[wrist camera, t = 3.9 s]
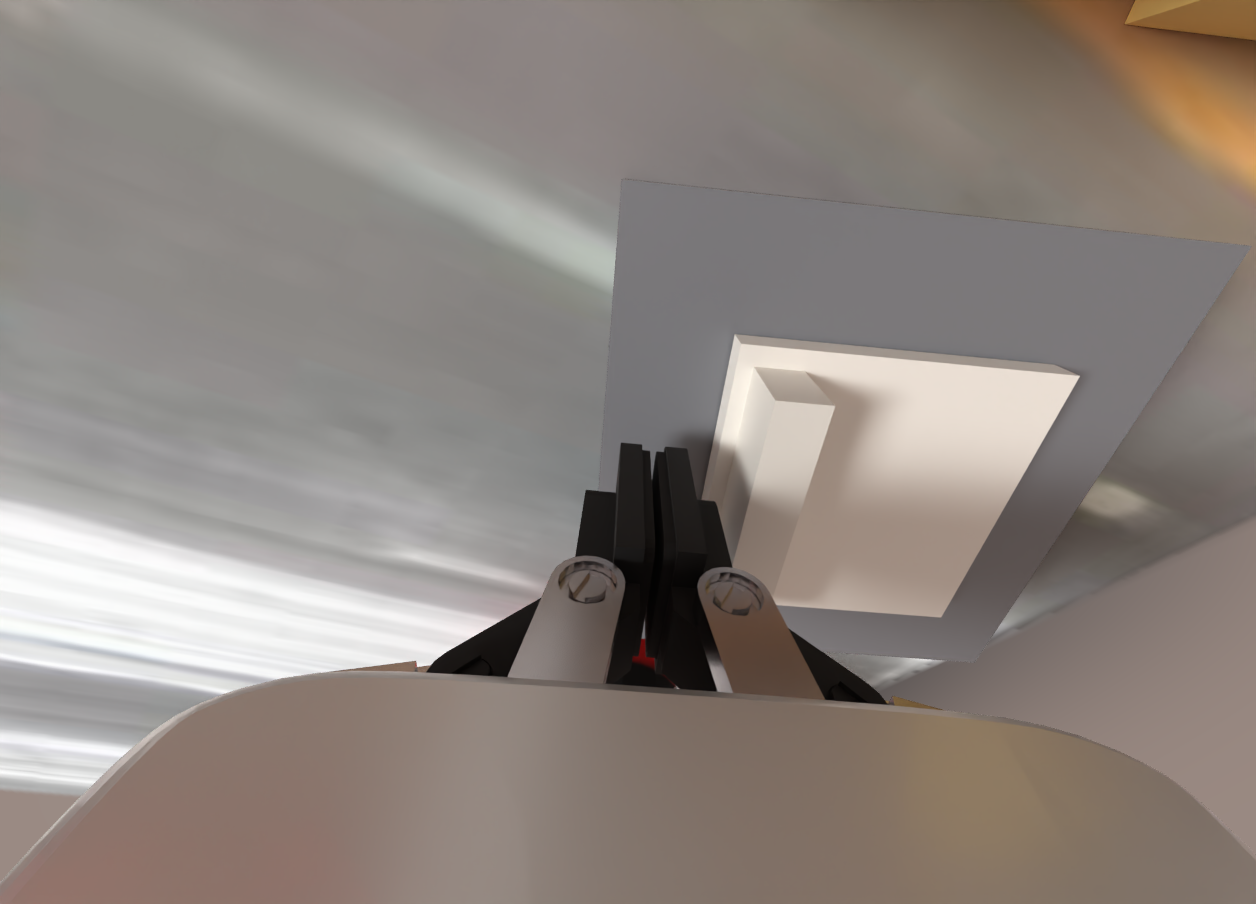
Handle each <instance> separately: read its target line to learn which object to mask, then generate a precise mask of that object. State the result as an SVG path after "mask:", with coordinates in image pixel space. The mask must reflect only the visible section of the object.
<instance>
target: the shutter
mask: <svg viewBox="0 0 1256 904" xmlns="http://www.w3.org/2000/svg"><path fill="white" fill-rule="evenodd" d="M1079 377H1080V376H1079V375H1077V374H1074V373H1072V372H1070V371H1068V370H1065V369H1063V368H1061V367H1059V366H1056V365H1053V364H1043V363H1032V362H1022V361H1011V360H1001V359H990V358H980V357H969V356H959V355H948V354H938V353H927V352H917V351H906V350H896V349H885V348H875V347H865V346H854V345H844V344H833V343H823V342H812V341H802V340H791V339H781V338H770V337H760V336H749V335H739V334H735V335H734V340H733V345H732V350H731V355H730V360H729V365H728V370H727V375H726V380H725V385H724V390H723V395H722V400H721V405H720V410H719V415H718V420H717V425H716V429H715V434H714V439H713V444H712V449H711V454H710V459H709V464H708V469H707V474H706V479H705V484H704V489H703V494H702V499H701V500H707V501H715V502H716V504H717V507H718V511H719V515H720V519H721V523H722V527H723V531H724V535H725V539H726V543H727V547H728V551H729V555H730V559H731V563H732V567H733V568H736V569H740V570H743V571H746V572H748V573H749V574H751V575H753V576H755V577H756V578H757V579H759V580H760V581H761V582H762V583H763V584H764V585H765V586H766V588H767V589H768V591H769V592H770V594H771V596H772V598H773V600H774V602H775V604H776V605H782V606H795V607H808V608H821V609H835V610H848V611H861V612H874V613H888V614H901V615H914V616H927V617H942V615H943V613H944V612H945V610H946V608H947V606H948V605H949V603H950V601H951V600H952V598H953V596H954V594H955V593H956V591H957V589H958V587H959V586H960V584H961V582H962V580H963V579H964V577H965V575H966V573H967V572H968V570H969V568H970V567H971V565H972V563H973V561H974V560H975V558H976V556H977V554H978V553H979V551H980V549H981V547H982V546H983V544H984V542H985V540H986V539H987V537H988V535H989V534H990V532H991V530H992V528H993V527H994V525H995V523H996V521H997V520H998V518H999V516H1000V514H1001V513H1002V511H1003V509H1004V507H1005V506H1006V504H1007V502H1008V501H1009V499H1010V497H1011V495H1012V494H1013V492H1014V490H1015V488H1016V487H1017V485H1018V483H1019V481H1020V480H1021V478H1022V476H1023V474H1024V473H1025V471H1026V469H1027V468H1028V466H1029V464H1030V462H1031V461H1032V459H1033V457H1034V455H1035V454H1036V452H1037V450H1038V448H1039V447H1040V445H1041V443H1042V441H1043V440H1044V438H1045V436H1046V435H1047V433H1048V431H1049V429H1050V428H1051V426H1052V424H1053V422H1054V421H1055V419H1056V417H1057V415H1058V414H1059V412H1060V410H1061V408H1062V407H1063V405H1064V403H1065V401H1066V400H1067V398H1068V396H1069V395H1070V393H1071V391H1072V389H1073V388H1074V386H1075V384H1076V382H1077V381H1078V379H1079Z"/></svg>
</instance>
